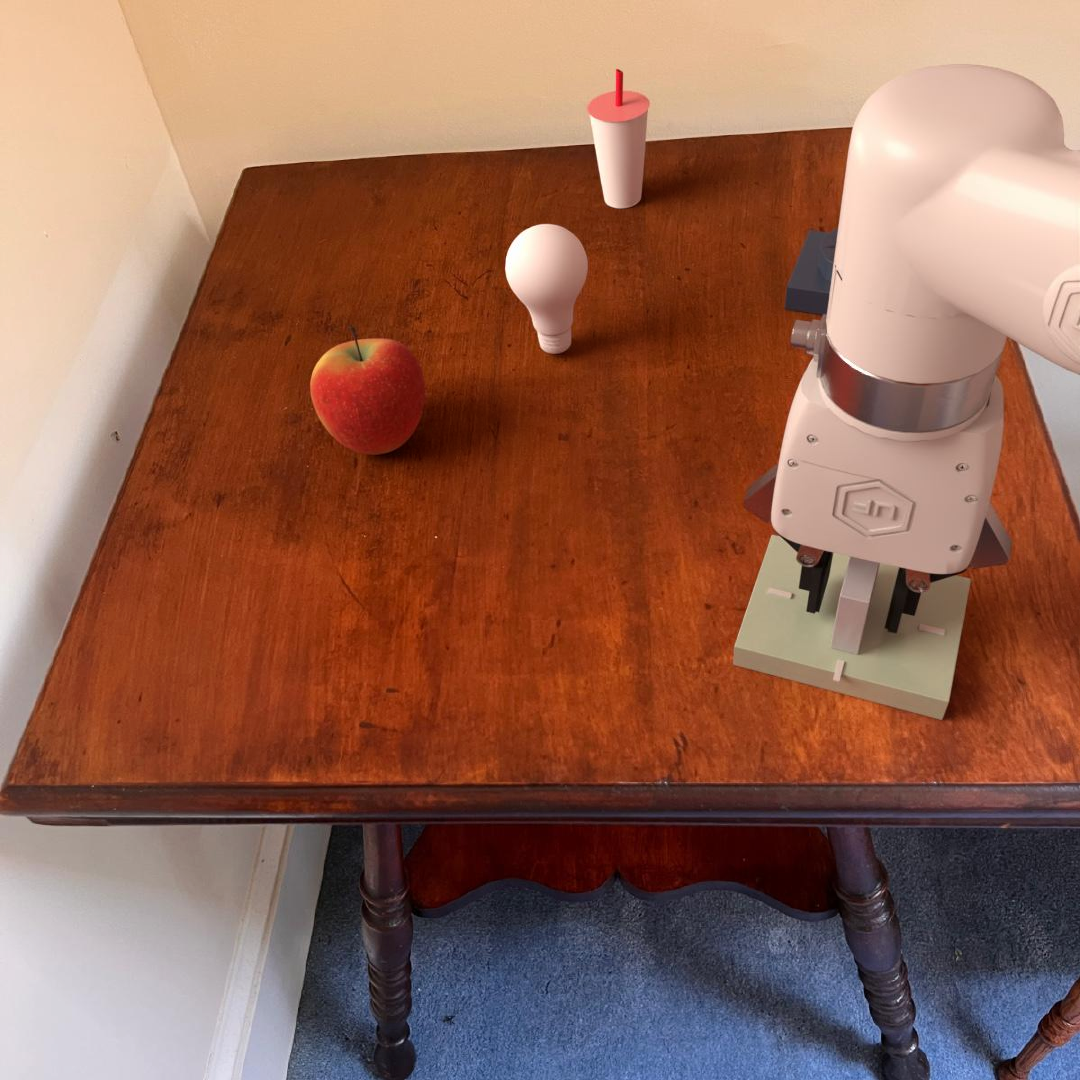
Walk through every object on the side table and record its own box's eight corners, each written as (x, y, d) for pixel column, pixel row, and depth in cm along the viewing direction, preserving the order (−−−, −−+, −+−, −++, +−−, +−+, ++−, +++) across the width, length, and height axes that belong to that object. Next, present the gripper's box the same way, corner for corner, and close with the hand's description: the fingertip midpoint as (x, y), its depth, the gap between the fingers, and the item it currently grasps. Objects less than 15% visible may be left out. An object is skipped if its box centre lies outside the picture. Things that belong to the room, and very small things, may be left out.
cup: (652, 181, 97) (649, 53, 88) (651, 213, 94) (647, 84, 85) (595, 183, 98) (587, 57, 89) (591, 215, 94) (582, 87, 85)
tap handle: (857, 655, 59) (870, 600, 55) (829, 648, 60) (840, 593, 56) (877, 576, 62) (890, 519, 58) (850, 570, 63) (861, 513, 59)
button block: (929, 268, 84) (939, 225, 81) (913, 329, 80) (922, 286, 77) (806, 252, 87) (811, 210, 84) (784, 309, 83) (788, 267, 80)
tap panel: (965, 591, 64) (973, 569, 62) (940, 729, 58) (948, 709, 56) (772, 547, 67) (774, 525, 66) (730, 673, 62) (731, 652, 60)
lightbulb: (551, 387, 80) (535, 267, 71) (503, 351, 83) (483, 232, 75) (610, 350, 82) (602, 229, 74) (561, 316, 85) (548, 197, 77)
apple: (327, 484, 75) (288, 380, 68) (333, 410, 81) (297, 305, 73) (436, 470, 75) (409, 364, 68) (435, 396, 80) (410, 290, 73)
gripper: (703, 382, 47) (699, 618, 61) (1104, 454, 42) (999, 694, 56) (746, 285, 51) (732, 526, 65) (1114, 339, 46) (1014, 589, 60)
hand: (856, 601), depth 60 cm, fingers open, 3 cm apart
